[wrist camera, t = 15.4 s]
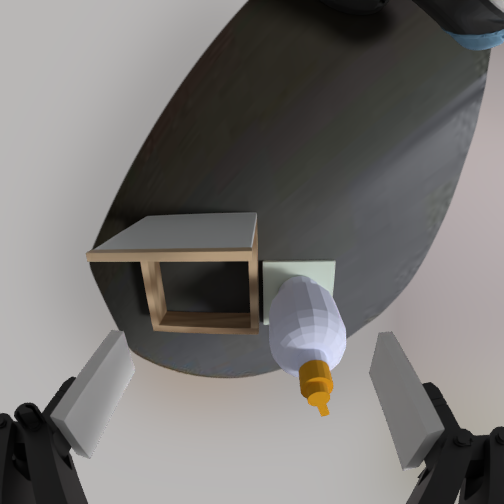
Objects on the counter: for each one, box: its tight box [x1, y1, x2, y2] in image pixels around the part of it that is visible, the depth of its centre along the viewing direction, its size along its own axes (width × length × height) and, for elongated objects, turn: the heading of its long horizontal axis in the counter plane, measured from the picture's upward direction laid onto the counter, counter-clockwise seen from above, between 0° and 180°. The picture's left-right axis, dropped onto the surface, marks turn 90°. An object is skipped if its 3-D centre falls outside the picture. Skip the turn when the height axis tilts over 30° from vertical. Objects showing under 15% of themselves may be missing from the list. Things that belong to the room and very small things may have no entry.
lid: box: [86, 212, 257, 262], centre depth 39 cm, size 1×19×19 cm, turn 92°
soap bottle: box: [269, 276, 346, 416], centre depth 39 cm, size 10×10×24 cm
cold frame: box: [141, 220, 259, 334], centre depth 45 cm, size 19×18×12 cm
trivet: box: [263, 260, 335, 325], centre depth 51 cm, size 12×12×1 cm
